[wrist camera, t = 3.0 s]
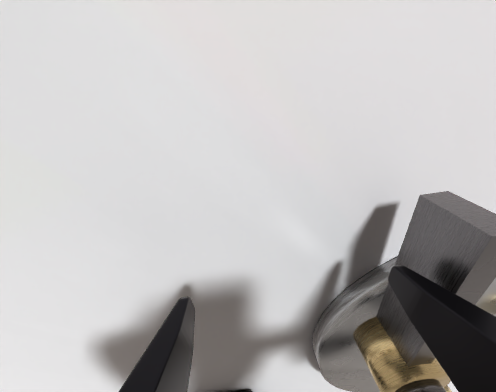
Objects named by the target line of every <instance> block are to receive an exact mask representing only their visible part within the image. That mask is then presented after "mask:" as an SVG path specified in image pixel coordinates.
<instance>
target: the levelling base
mask: <svg viewBox="0 0 496 392" xmlns="http://www.w3.org/2000/svg"><path fill="white" fill-rule="evenodd" d="M396 260H397V257H396V258H394V259H392V260H390V261H388V262H387V263H385V264H383V265H381V266H379V267H377V268H376V269H374V270H372V271H371V272H369V273H368V274H366V275H365V276H363V277H362V278H360V279H359V280H357V281H356V282H355V283H354V284H352V285H351V286H350V287H348V288H347V289H346V290H345V291H344V292H342V293H341V294H340V295H339V296H338V297H337V298H336V299H335V300H334V301H333V302H332V303H331V304H330V306H329V307H328V308H327V309H326V310H325V311H324V313H323V315H322V316H321V318H320V319H319V321H318V323H317V325H316V327H315V330H314V333H313V338H312V342H313V349H314V352H315V355H316V358H317V361H318V365H319V368H320V371H321V374H322V375H323V377H324V378H325V380H326V381H328V382H329V383H330V384H332V385H334V386H335V387H337V388H340V389H343V390H347V391H352V392H380V390H379V388H378V386H377V384H376V382H375V380H374V378H373V376H372V374H371V372H370V370H369V368H368V366H367V364H366V362H365V360H364V358H363V356H362V354H361V352H360V350H359V348H358V346H357V344H356V342H355V340H354V338H353V333H354V331H355V330H356V328H357V327H358V326H359V325H361V324H362V323H363V322H365V321H367V320H369V319H371V318H373V317H376V315H377V313H378V310H379V307H380V304H381V302H382V299H383V296H384V293H385V291H386V288H387V285H388V276H389V273H390V270H391V268H392V267H393V266H395V263H396ZM476 306H478V307H480V308H481V309H483V310H485V311H487V312H489V313H490V314H492V315H494V316H496V278H495V279H494V281H493V282H492V283H491V285H490V286H489V287H488V289H487V290H486V291H485V293H484V294H483V295H482V297H481V298H480V299H479V301H478V302H477V303H476ZM444 389H445V390H446V392H452V391H451V390H450V388H449V387H448V386H447V385H446V386H445V387H444Z"/></svg>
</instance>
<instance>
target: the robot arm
mask: <svg viewBox="0 0 496 392" xmlns="http://www.w3.org/2000/svg"><path fill="white" fill-rule="evenodd" d="M388 282H389V284H390V286H391V288H392V290H393V291H394V293H395V295H396V297H397V299H398V300H399V302H400V304H401V306H402V307H403V309H404V311H405V313H406V315H407V316H408V318H409V319H410V321H411V323H412V324H413V326H414V327H415V329H416V330H417V331H418V333H419V334H420V336H421V337H422V339H423V340H424V342H425V343H426V345H427V346H428V348H429V349H430V351H431V352H432V353H433V355H434V356H435V358H436V359H437V361H438V362H439V364H440V365H441V367H442V368H443V370H444V371H445V373H446V374H447V375H448V377H449V378H450V380H451V381H452V383H453V384H454V386H455V387H456V389H457V390H458V392H496V316H494V315H492V314H490V313H489V312H487V311H485V310H483V309H481V308H480V307H478V306H476V305H474V304H472V303H471V302H469V301H467V300H465V299H463V298H462V297H460V296H458V295H456V294H454V293H453V292H451V291H449V290H447V289H445V288H444V287H442V286H440V285H438V284H436V283H435V282H433V281H431V280H429V279H427V278H426V277H424V276H422V275H420V274H418V273H417V272H415V271H413V270H411V269H409V268H408V267H406V266H403V265H397V266H393V267H392V268H391V270H390V273H389V276H388ZM194 321H195V308H194V306H193V303H192V301H191V298H190V297H183V298H180V299H179V300H178V302H177V303H176V305H175V306H174V308H173V309H172V311H171V312H170V314H169V316H168V317H167V319H166V320H165V322H164V323H163V325H162V326H161V328H160V329H159V331H158V332H157V334H156V335H155V337H154V339H153V340H152V342H151V343H150V345H149V346H148V348H147V349H146V351H145V352H144V354H143V355H142V357H141V358H140V360H139V362H138V363H137V365H136V366H135V368H134V369H133V371H132V372H131V374H130V375H129V377H128V378H127V380H126V381H125V383H124V384H123V386H122V388H121V389H120V391H119V392H187V389H188V382H189V376H190V369H191V362H192V355H193V340H194ZM243 392H252V391H243Z"/></svg>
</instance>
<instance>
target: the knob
mask: <svg viewBox="0 0 496 392" xmlns="http://www.w3.org/2000/svg"><path fill="white" fill-rule="evenodd" d="M397 265H403V266H406V267H408V268H409V269H411V270H413V271H415V272H417V273H418V274H420V275H422V276H424V277H426V278H427V279H429V280H431V281H433V282H435V283H436V284H438V285H440V286H442V287H444V288H445V289H447V290H449V291H451V292H453V293H454V294H456V295H458V296H460V297H462V298H463V299H465V300H467V301H469V302H471V303H472V304H474V305H476V303H477V302H478V301H479V299H480V298H481V297H482V295H483V294H484V293H485V291H486V290H487V289H488V287H489V286H490V285H491V283H492V282H493V281H494V279H495V278H496V214H495V213H493V212H490V211H488V210H486V209H484V208H482V207H480V206H478V205H476V204H474V203H472V202H470V201H467V200H465V199H463V198H461V197H459V196H457V195H455V194H453V193H451V192H449V191H446V192H439V193H432V194H424V195H420V197H419V199H418V202H417V205H416V208H415V210H414V213H413V216H412V219H411V221H410V224H409V227H408V230H407V232H406V235H405V238H404V241H403V244H402V246H401V249H400V252H399V255H398V257H397V260H396V263H395V266H397ZM353 338H354V340H355V342H356V344H357V346H358V348H359V350H360V352H361V354H362V356H363V358H364V360H365V362H366V364H367V366H368V368H369V370H370V372H371V374H372V376H373V378H374V380H375V382H376V384H377V386H378V388H379V390H380V392H446V390H445V389H444V387H445V386H446V385H447V384H449V382H450V381H451V380H450V378H449V377H448V375H447V374H446V373H445V371H444V370H443V368H442V367H441V365H440V364H439V362H438V361H437V359H436V358H435V356H434V355H433V353H432V352H431V351H430V349H429V348H428V346H427V345H426V343H425V342H424V340H423V339H422V337H421V336H420V334H419V333H418V331H417V330H416V329H415V327H414V326H413V324H412V323H411V321H410V319H409V318H408V316H407V315H406V313H405V311H404V309H403V307H402V306H401V304H400V302H399V300H398V299H397V297H396V295H395V293H394V291H393V290H392V288H391V286H390V284H389V282H388V285H387V288H386V291H385V293H384V296H383V299H382V302H381V304H380V307H379V310H378V313H377V315H376V317H373V318H371V319H369V320H367V321H365V322H363V323H362V324H361V325H359V326H358V327H357V328H356V330H355V331H354V333H353Z"/></svg>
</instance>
